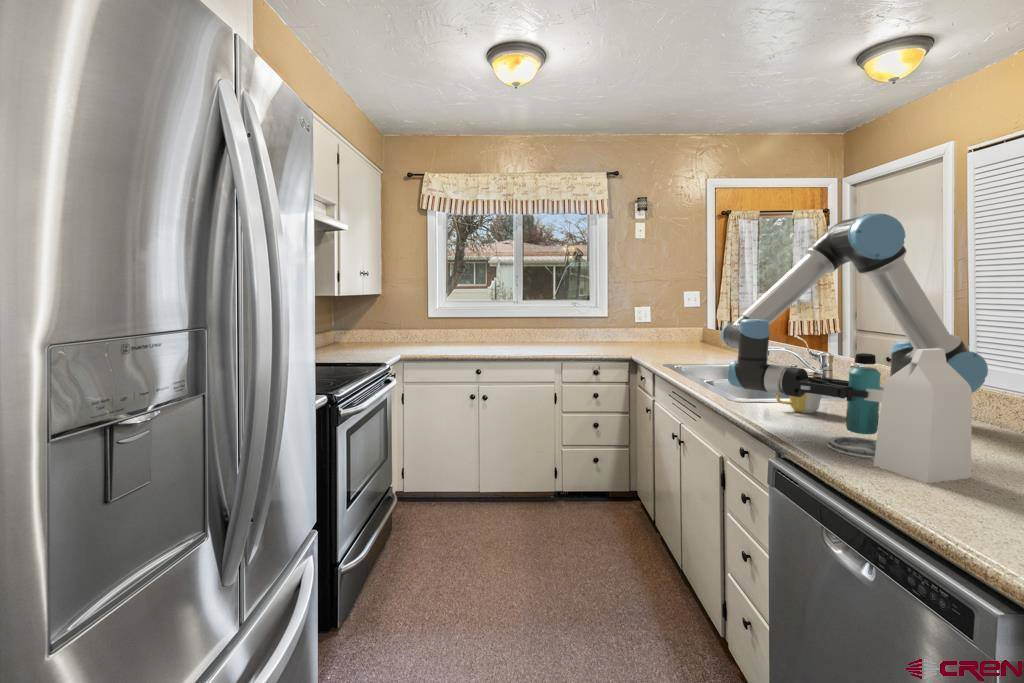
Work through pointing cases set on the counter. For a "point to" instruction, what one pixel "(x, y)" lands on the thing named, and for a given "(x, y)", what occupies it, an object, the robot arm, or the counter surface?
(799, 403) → the mug
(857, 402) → the beverage bottle
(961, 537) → the counter surface
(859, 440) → the grey round plate
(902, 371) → the milk
